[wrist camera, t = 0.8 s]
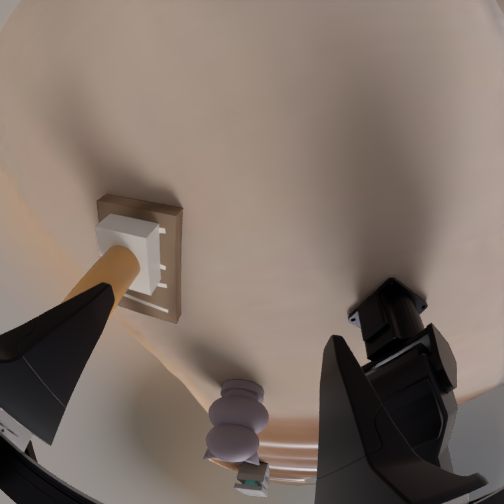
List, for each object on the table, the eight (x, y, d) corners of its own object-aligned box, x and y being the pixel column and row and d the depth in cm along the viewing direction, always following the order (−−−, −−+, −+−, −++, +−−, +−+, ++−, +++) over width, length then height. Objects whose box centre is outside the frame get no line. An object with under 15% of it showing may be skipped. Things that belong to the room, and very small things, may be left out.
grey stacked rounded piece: (269, 377, 34) (258, 458, 24) (274, 402, 38) (265, 470, 28) (209, 374, 36) (188, 448, 26) (222, 398, 40) (206, 462, 30)
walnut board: (182, 208, 22) (176, 216, 21) (181, 314, 29) (176, 323, 28) (105, 194, 22) (96, 200, 21) (119, 295, 30) (114, 304, 28)
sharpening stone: (240, 456, 64) (234, 487, 55) (266, 459, 62) (261, 490, 53) (250, 470, 77) (245, 494, 68) (271, 472, 76) (267, 497, 67)
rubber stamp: (159, 223, 22) (83, 318, 12) (160, 279, 25) (107, 373, 16) (110, 213, 22) (28, 292, 13) (117, 266, 25) (56, 348, 16)
